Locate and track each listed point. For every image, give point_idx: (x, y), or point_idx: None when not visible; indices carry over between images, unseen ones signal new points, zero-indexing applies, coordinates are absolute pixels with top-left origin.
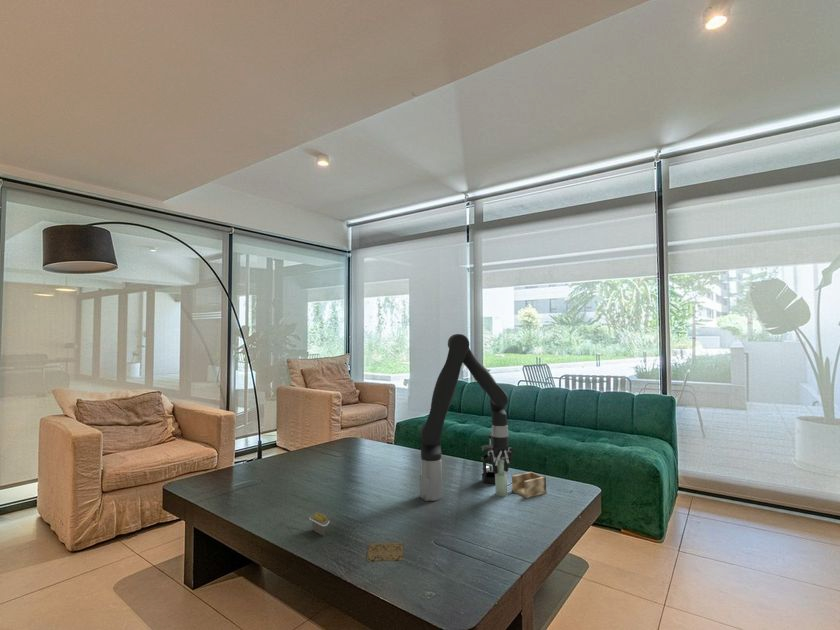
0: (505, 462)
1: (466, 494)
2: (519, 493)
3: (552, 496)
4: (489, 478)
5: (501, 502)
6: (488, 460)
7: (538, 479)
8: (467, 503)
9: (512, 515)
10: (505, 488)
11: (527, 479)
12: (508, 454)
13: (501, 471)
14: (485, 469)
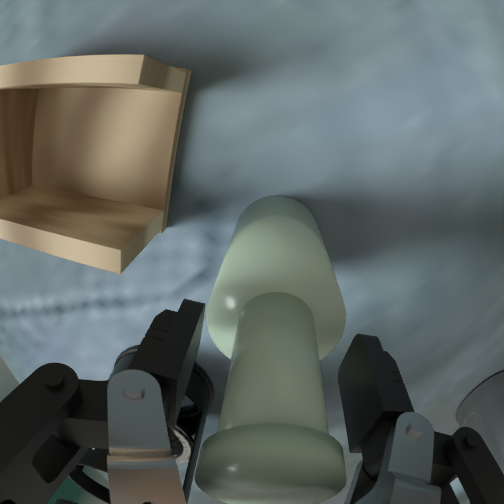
0: (166, 412)
1: (408, 360)
2: (174, 148)
3: (60, 14)
4: (193, 396)
5: (396, 148)
6: (449, 500)
7: (17, 63)
8: (500, 281)
9: (482, 11)
10: (281, 212)
11: (26, 202)
12: (40, 487)
13: (304, 330)
14: (195, 451)
